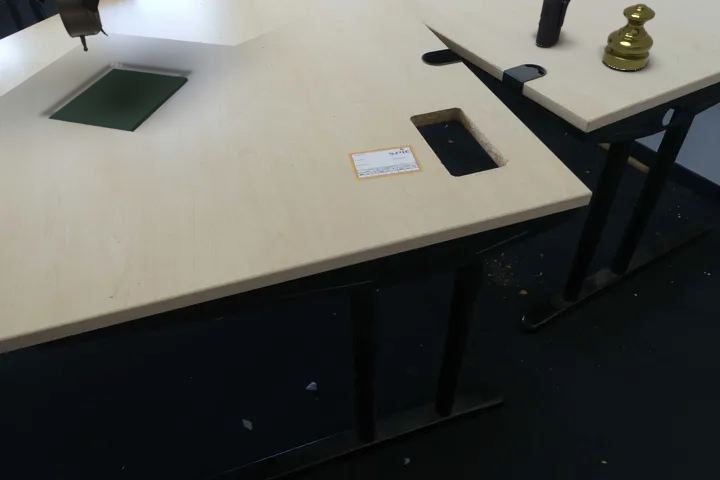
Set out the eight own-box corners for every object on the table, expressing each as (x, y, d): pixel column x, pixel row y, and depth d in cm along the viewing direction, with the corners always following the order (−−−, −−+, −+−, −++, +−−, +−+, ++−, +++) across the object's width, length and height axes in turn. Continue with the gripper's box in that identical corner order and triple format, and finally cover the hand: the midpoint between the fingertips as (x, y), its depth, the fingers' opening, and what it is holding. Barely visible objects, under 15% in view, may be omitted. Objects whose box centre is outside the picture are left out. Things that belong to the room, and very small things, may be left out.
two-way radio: (546, 35, 104) (564, -48, 94) (567, 42, 102) (587, -43, 91) (531, 45, 102) (547, -40, 91) (552, 52, 99) (571, -34, 89)
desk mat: (49, 121, 89) (47, 118, 89) (114, 71, 101) (113, 68, 101) (130, 133, 85) (129, 130, 85) (188, 80, 97) (187, 77, 97)
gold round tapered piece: (629, 50, 98) (647, -6, 91) (654, 68, 93) (675, 10, 86) (593, 56, 97) (608, 0, 90) (616, 75, 92) (635, 17, 85)
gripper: (177, -130, 75) (138, 25, 76) (62, -136, 83) (28, 5, 84) (139, -170, 68) (97, 0, 69) (17, -173, 76) (-19, -19, 77)
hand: (60, 3), depth 77 cm, fingers closed on alarm clock, 10 cm apart
